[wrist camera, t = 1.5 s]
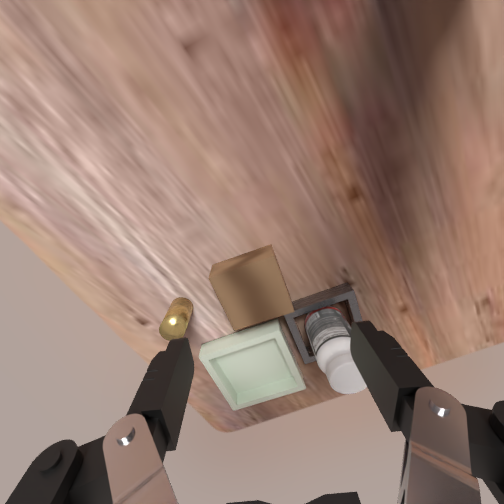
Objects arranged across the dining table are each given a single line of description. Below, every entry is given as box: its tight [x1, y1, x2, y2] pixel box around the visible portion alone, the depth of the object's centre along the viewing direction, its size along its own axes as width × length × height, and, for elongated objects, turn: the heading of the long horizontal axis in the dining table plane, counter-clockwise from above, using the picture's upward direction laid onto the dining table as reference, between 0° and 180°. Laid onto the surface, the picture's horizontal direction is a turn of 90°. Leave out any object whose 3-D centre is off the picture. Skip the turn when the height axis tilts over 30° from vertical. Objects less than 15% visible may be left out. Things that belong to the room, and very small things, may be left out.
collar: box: [284, 282, 362, 364], centre depth 34 cm, size 10×10×2 cm
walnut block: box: [209, 245, 295, 331], centre depth 30 cm, size 8×8×4 cm
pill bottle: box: [305, 306, 367, 394], centre depth 30 cm, size 6×6×10 cm
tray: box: [199, 318, 306, 411], centre depth 36 cm, size 12×12×2 cm
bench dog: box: [159, 297, 193, 341], centre depth 31 cm, size 3×3×5 cm
